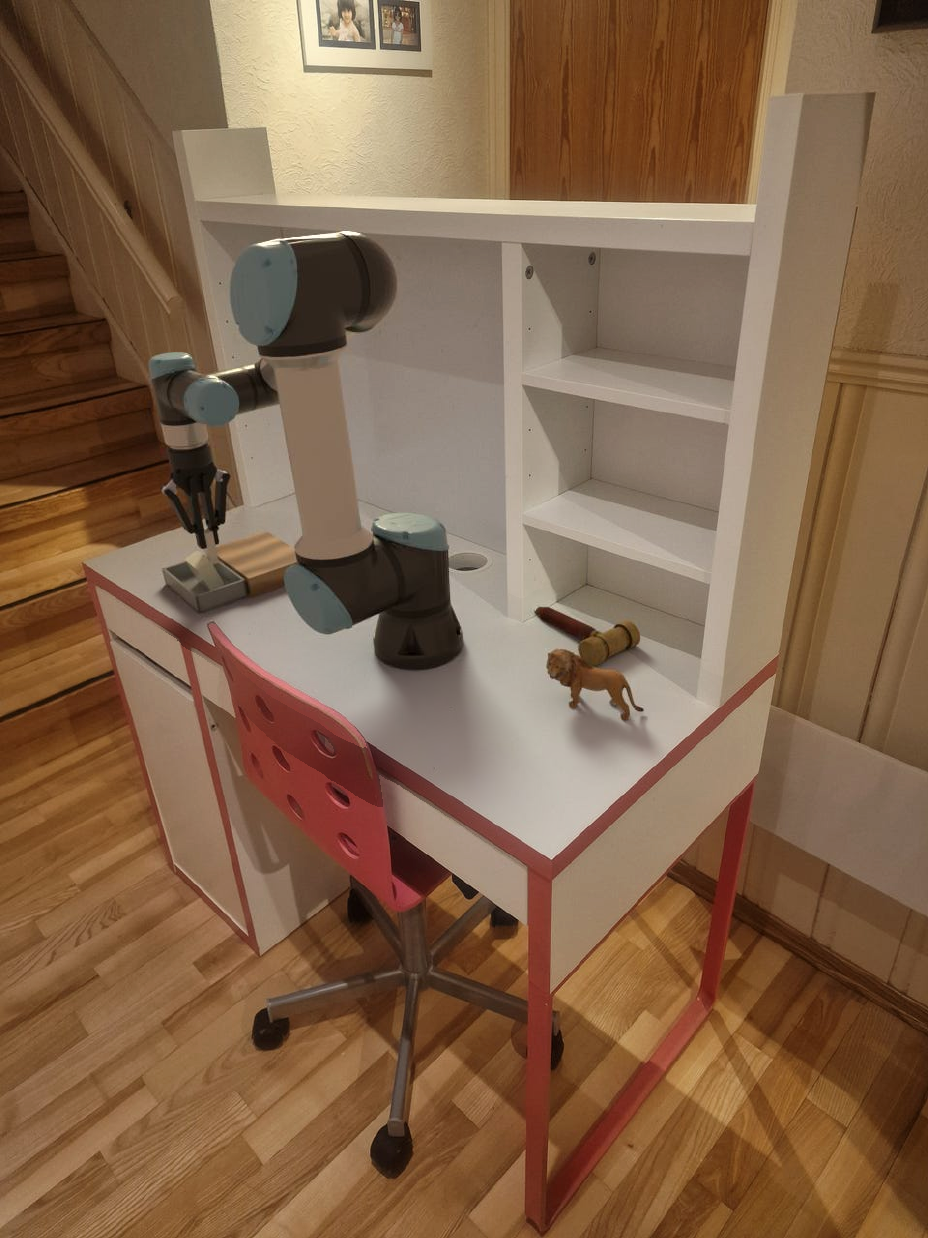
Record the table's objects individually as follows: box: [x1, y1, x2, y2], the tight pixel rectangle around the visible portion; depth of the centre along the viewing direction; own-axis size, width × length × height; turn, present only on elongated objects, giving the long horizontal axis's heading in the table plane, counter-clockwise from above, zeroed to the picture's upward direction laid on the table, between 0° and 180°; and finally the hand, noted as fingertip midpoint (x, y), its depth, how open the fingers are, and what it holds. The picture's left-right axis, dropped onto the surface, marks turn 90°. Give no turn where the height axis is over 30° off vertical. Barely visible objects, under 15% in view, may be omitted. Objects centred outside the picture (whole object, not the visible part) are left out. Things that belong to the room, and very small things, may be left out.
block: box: [183, 550, 225, 591], centre depth 163 cm, size 6×6×3 cm
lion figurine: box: [545, 648, 645, 721], centre depth 125 cm, size 15×5×9 cm, turn 72°
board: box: [216, 530, 297, 598], centre depth 170 cm, size 18×13×4 cm
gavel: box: [535, 606, 641, 667], centre depth 145 cm, size 21×5×10 cm
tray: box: [161, 554, 249, 614], centre depth 164 cm, size 16×10×4 cm, turn 39°
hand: (212, 561), depth 163 cm, fingers closed
